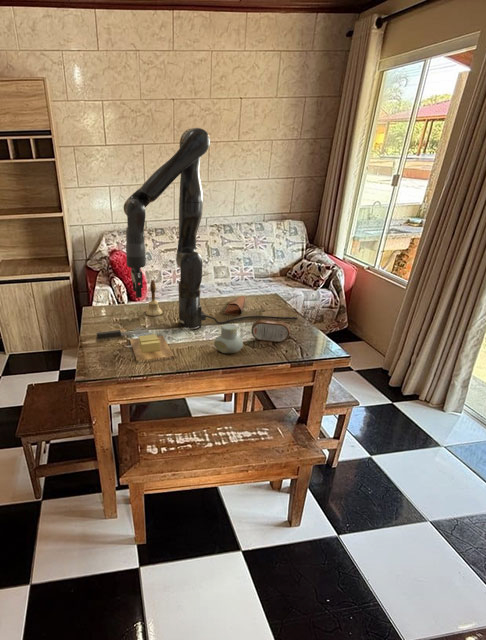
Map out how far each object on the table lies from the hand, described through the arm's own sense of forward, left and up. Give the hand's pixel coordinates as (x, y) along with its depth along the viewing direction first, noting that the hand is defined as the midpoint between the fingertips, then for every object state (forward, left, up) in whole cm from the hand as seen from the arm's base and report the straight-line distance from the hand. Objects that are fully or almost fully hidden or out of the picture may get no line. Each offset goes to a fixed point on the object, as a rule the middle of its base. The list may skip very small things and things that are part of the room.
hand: (137, 294), depth 167 cm
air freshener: (-31, +26, -18) cm, 44 cm away
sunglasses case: (-50, -17, -18) cm, 55 cm away
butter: (-1, +16, -16) cm, 23 cm away
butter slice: (-1, +21, -16) cm, 26 cm away
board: (-2, +17, -18) cm, 25 cm away
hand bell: (-11, -23, -18) cm, 31 cm away
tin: (-50, +22, -18) cm, 57 cm away
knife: (+7, +2, -17) cm, 19 cm away
